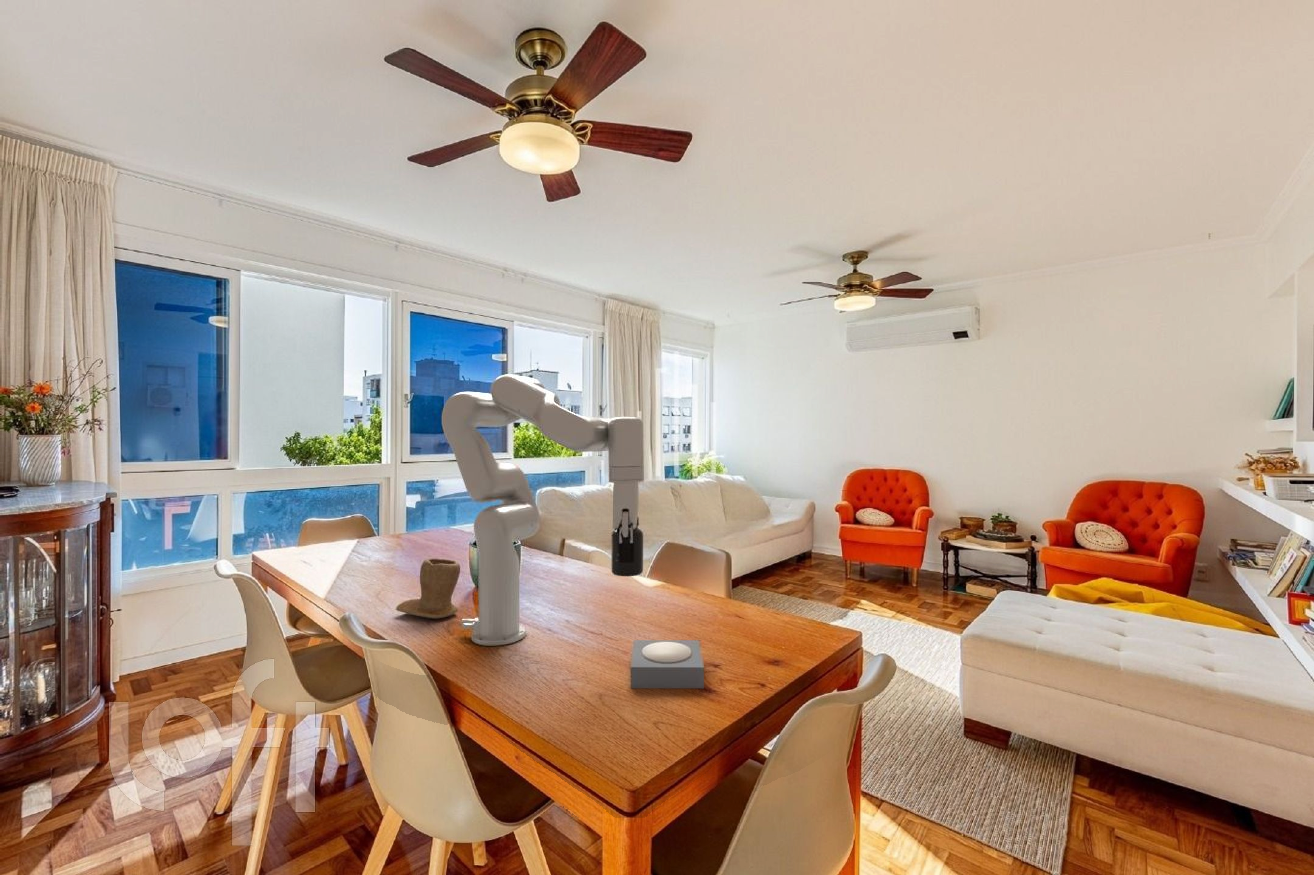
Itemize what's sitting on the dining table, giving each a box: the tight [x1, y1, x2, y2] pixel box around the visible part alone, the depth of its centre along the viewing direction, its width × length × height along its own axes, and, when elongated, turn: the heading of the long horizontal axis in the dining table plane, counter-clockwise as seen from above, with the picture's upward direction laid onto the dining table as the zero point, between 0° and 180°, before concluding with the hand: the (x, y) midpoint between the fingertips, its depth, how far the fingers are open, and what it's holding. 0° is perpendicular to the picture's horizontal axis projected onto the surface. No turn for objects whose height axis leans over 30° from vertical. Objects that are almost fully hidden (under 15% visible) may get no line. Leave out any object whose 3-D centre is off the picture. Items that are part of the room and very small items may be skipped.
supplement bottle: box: [610, 516, 644, 577], centre depth 116 cm, size 7×7×12 cm
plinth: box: [630, 639, 705, 689], centre depth 111 cm, size 14×14×4 cm
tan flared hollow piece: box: [395, 557, 461, 619], centre depth 148 cm, size 15×12×15 cm
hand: (627, 557), depth 116 cm, fingers closed on supplement bottle, 6 cm apart
